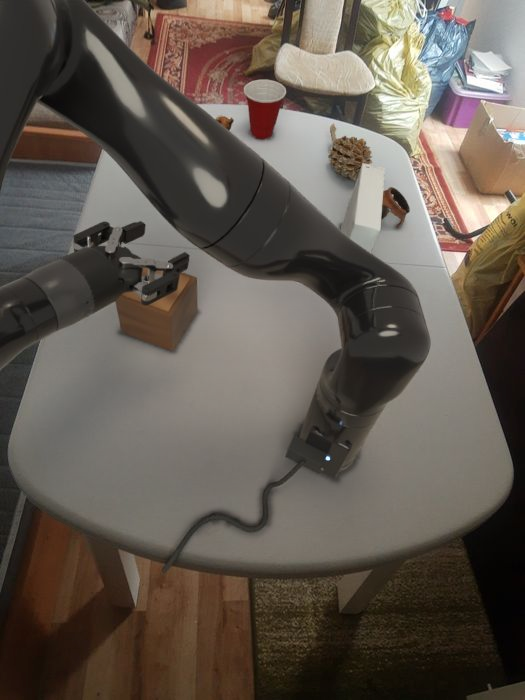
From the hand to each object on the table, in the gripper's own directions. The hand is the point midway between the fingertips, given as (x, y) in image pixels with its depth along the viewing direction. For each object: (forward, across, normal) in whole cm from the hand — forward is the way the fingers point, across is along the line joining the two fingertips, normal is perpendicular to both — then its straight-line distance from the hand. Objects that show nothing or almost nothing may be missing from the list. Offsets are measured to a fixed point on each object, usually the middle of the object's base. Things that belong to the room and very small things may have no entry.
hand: (164, 242), depth 68 cm
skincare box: (+44, -14, +14) cm, 48 cm away
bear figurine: (+52, +31, +16) cm, 62 cm away
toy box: (+5, +2, +21) cm, 22 cm away
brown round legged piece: (+60, -13, +11) cm, 62 cm away
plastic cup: (+70, +30, +12) cm, 77 cm away
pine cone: (+72, +6, +10) cm, 73 cm away
